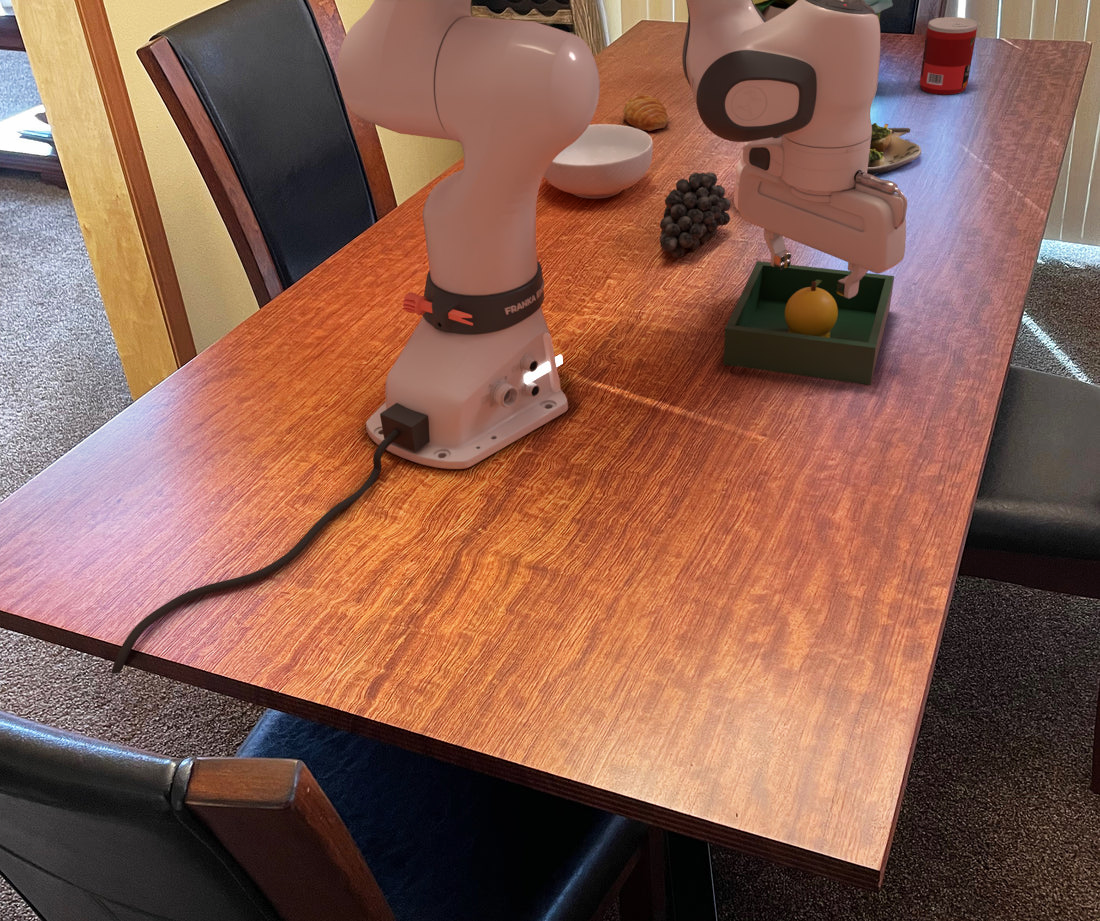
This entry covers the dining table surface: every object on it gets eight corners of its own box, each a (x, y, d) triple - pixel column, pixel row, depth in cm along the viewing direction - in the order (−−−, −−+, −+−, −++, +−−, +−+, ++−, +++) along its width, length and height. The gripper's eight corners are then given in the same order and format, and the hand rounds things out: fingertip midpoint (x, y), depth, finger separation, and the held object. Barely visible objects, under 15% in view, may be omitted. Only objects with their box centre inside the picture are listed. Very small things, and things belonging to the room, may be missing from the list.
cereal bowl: (609, 159, 175) (608, 114, 171) (675, 190, 163) (676, 144, 159) (518, 186, 168) (515, 141, 163) (581, 221, 156) (579, 173, 152)
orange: (822, 354, 122) (827, 298, 118) (773, 341, 125) (778, 285, 121) (843, 331, 126) (849, 276, 122) (796, 319, 129) (801, 265, 125)
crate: (869, 391, 117) (875, 347, 114) (722, 370, 122) (724, 328, 119) (888, 316, 130) (894, 275, 127) (754, 300, 135) (757, 260, 132)
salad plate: (874, 125, 181) (878, 96, 178) (950, 159, 168) (955, 129, 165) (775, 148, 175) (777, 119, 172) (846, 186, 161) (849, 155, 159)
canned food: (972, 94, 190) (983, 27, 184) (925, 96, 191) (935, 30, 184) (959, 80, 197) (970, 15, 190) (913, 82, 197) (922, 18, 190)
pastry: (677, 129, 184) (677, 106, 182) (639, 136, 182) (639, 113, 180) (655, 112, 191) (655, 90, 189) (619, 118, 190) (618, 96, 187)
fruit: (680, 203, 137) (728, 158, 147) (624, 213, 142) (674, 169, 152) (699, 267, 141) (745, 219, 151) (644, 274, 146) (692, 227, 156)
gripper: (928, 178, 109) (909, 303, 117) (771, 128, 122) (763, 243, 130) (888, 197, 106) (871, 324, 114) (731, 143, 119) (726, 260, 127)
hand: (812, 280), depth 122 cm, fingers open, 8 cm apart
